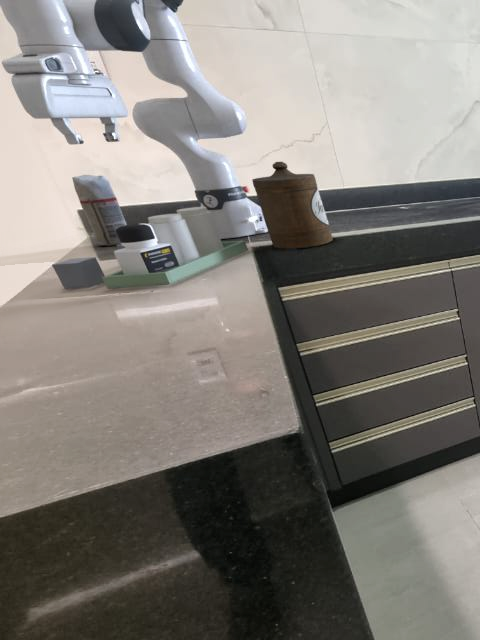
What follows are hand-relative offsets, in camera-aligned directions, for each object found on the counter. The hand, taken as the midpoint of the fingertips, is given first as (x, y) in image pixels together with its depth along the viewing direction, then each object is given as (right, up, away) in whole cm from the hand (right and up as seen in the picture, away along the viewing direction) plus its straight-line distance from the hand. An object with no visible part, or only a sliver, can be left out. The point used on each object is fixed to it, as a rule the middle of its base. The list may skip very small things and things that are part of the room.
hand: (96, 143), depth 107 cm
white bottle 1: (0, -21, +21) cm, 30 cm away
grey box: (-13, -28, +10) cm, 32 cm away
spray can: (-50, -8, +55) cm, 75 cm away
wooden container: (+15, -11, +43) cm, 47 cm away
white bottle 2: (-1, -17, +30) cm, 35 cm away
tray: (0, -22, +22) cm, 31 cm away
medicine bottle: (+1, -26, +13) cm, 29 cm away
